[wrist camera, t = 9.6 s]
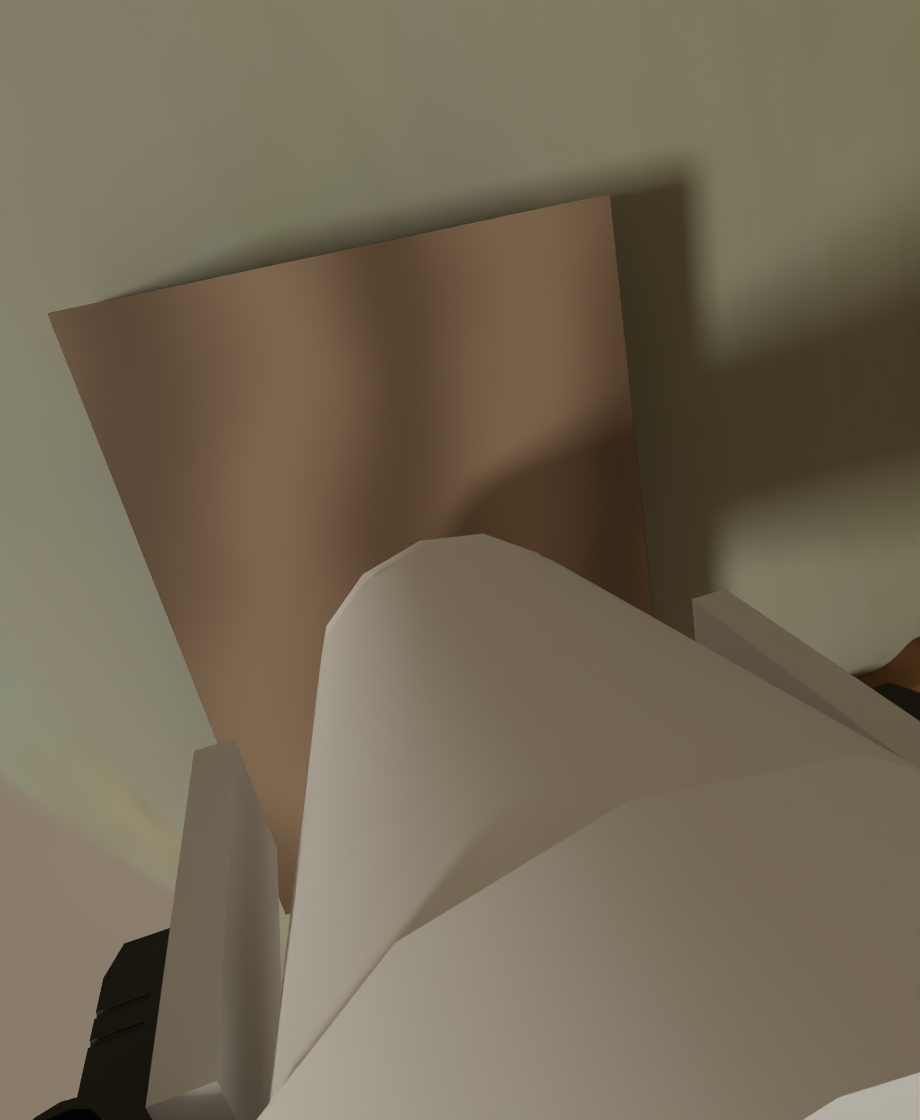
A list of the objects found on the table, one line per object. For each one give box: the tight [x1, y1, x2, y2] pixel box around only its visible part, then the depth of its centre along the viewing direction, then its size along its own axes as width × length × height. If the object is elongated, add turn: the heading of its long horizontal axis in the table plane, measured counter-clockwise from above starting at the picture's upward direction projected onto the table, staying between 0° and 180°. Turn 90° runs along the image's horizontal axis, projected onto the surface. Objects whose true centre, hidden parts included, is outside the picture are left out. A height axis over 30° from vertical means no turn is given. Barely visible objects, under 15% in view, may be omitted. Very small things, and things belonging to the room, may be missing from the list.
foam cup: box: [257, 534, 920, 1120], centre depth 12 cm, size 10×9×13 cm
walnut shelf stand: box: [48, 194, 654, 914], centre depth 23 cm, size 13×18×5 cm
